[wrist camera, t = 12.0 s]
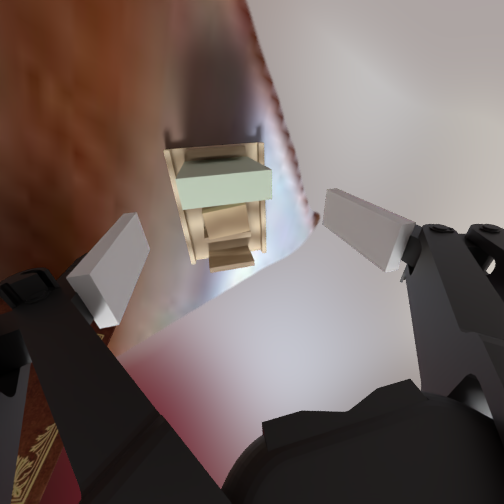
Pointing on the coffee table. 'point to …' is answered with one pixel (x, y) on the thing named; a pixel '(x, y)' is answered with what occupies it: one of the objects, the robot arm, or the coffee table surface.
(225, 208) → the offcut oak
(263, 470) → the robot arm
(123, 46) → the coffee table surface
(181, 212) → the rack
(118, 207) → the coffee table surface
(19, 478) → the decorative book
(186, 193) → the sage board
